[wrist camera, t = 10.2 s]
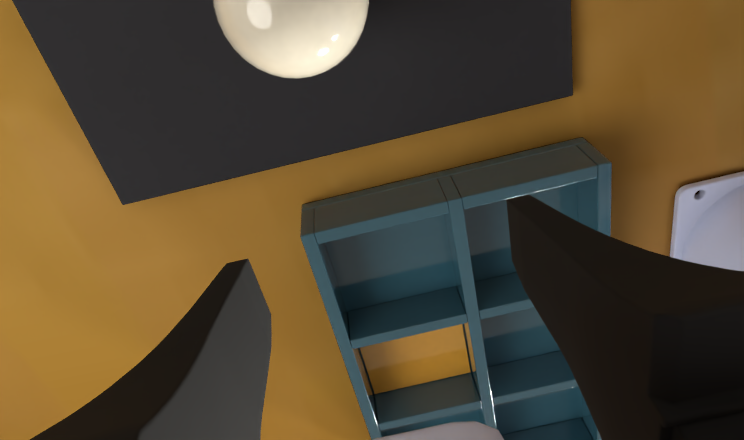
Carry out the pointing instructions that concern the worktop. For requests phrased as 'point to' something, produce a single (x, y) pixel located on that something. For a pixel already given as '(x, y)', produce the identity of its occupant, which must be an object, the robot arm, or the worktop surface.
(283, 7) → the egg
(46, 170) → the worktop surface
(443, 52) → the mat
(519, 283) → the teal compartment tray
